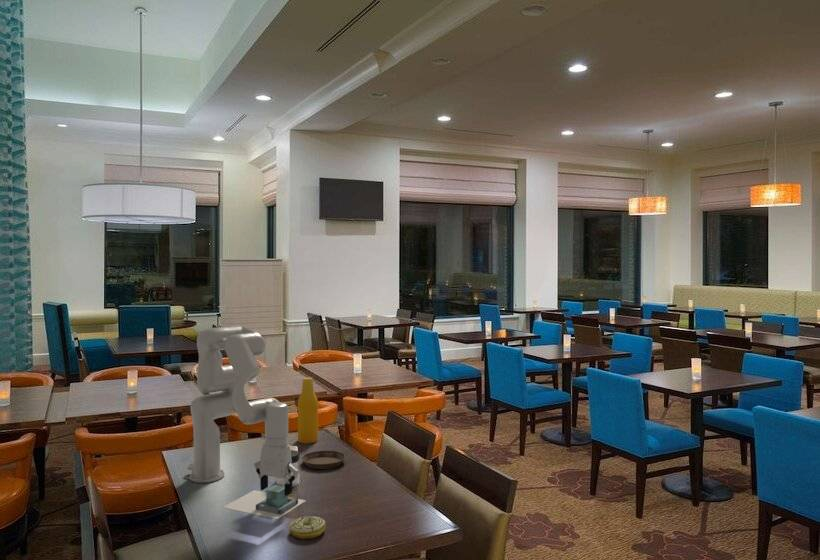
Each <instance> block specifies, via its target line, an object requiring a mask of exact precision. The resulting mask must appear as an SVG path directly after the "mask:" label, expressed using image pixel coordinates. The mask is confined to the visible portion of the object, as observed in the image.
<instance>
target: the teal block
mask: <svg viewBox="0 0 820 560" xmlns="http://www.w3.org/2000/svg"><path fill="white" fill-rule="evenodd" d="M265 491H266V505H267V506H272V507H277V508H280V507H282V506H284V505H285V504H287V503H288V497H289V495H287V496H285V486H283V485H279V484H274V485H271V486H270V487H268V488H266V489H265Z"/></svg>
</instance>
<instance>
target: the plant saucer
mask: <svg viewBox="0 0 820 560" xmlns="http://www.w3.org/2000/svg"><path fill="white" fill-rule="evenodd" d="M345 458H346V455H345V453H342V452H340V451H335V450H318V451H317V450H315V451H312V452H308V453H305V454H303V455H302V457H301V460H302V462H303V463H304V465H306V466H307V467H308V468H310V469H314V470H327V469H329V470H330V469H334V468H337V467H339V466H340V465H341V464H342V463H343V461H345Z"/></svg>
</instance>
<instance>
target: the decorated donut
mask: <svg viewBox="0 0 820 560" xmlns="http://www.w3.org/2000/svg"><path fill="white" fill-rule="evenodd" d="M326 526H327V525H326V521H325V519H324V518H322V517H320V516H313V515H312V516H311V515H307V516H301V517H299V518H296V519H294V520H293V521H291V522H290V523H289V527H288V530H289V532H290V535H292V536H293V537H294V538H298V539H301V540H309V539H314V538H315V539H316V538H318V537H319V536H322V534H323V532H325V530H326Z"/></svg>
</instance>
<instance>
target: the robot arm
mask: <svg viewBox="0 0 820 560" xmlns="http://www.w3.org/2000/svg"><path fill="white" fill-rule="evenodd" d="M196 347H197V352H198V365H197V378H196V379H197V380H196V386H197V389H198V391H199V392H200V393H202V394H203V395H200V396H197V397H195V398H193V400H192V401H191V403H190V414H191V419H192V428H193V431H192V432H193V462H190V463H189V465H188V466H187V467H186V469H187V470H189V471H191V473H190V475H189V481H191V482H193V483H198V484H204V483H206V484H207V483H212V482H216V481H219V480H222V479H223V478H224V477H225V471H224V470H223V469H221V431H220V427H219V426H218V424H216V422H215V420H217V419H219V418H225V417H228V416H229V417H230V416H232V415H233V414H235V413H236V414H237V418H238V419H239V420H240V422H241V423H243V424H244V425H255V424H259V423H263V422H264V435H262V439H263V440H264V443H263V444H262V446H261V451H260V457H259V459H260V460H258V461H256V462H254V463H253V465H254V468H255V471H256V473H257V475H258V478H260V479H259V480H260V481H259V482H260V491H264V490H267V489H268V488H269V477H273V478H284V480H285V482H286V483H285V496H287V495H288V496H289V495H290V494H292V492H293V485H292V482H293V481H294V480H295V479H296V478H297V475H298V473H299V474H300V469H299V470H298V469H297V468H295V467H294V466H293V465H292V459H291V450H292V449H291V447H290V444H289V406H288V404H286V402H280V400H277V399H276V398H274V397H266V398H260V399H259V398H258V399H253V400H250V401H249V400H248V399H247V395H246V393H245V385H246V384H248V383H249V382H251V381H253V379H255V378H257V377H258V376H259V374H260V373H261V368H260V365H259V363H258V361H257V359H256V356H260V355H262V354H263V353H264V351H265V349H266V343H265V339H264V338H263V336H262V335H261V334H260V333H259V332H257V331H255V330H253V329H250V328H249V327H246V326H243V325H242V326H241V325H233V326H232V325H230V326H219V327H211V328H210V327H209V328H205V329H203V330H201V331H200V332H199V333H198V335H197V338H196ZM223 350H224V351H225V354H226V356H227V358H228V362H229V364H224V365H223V354H222V353H221V351H223ZM291 471H292V472H293V475H291ZM287 476H288V477H287ZM288 478H289V479H288Z"/></svg>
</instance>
